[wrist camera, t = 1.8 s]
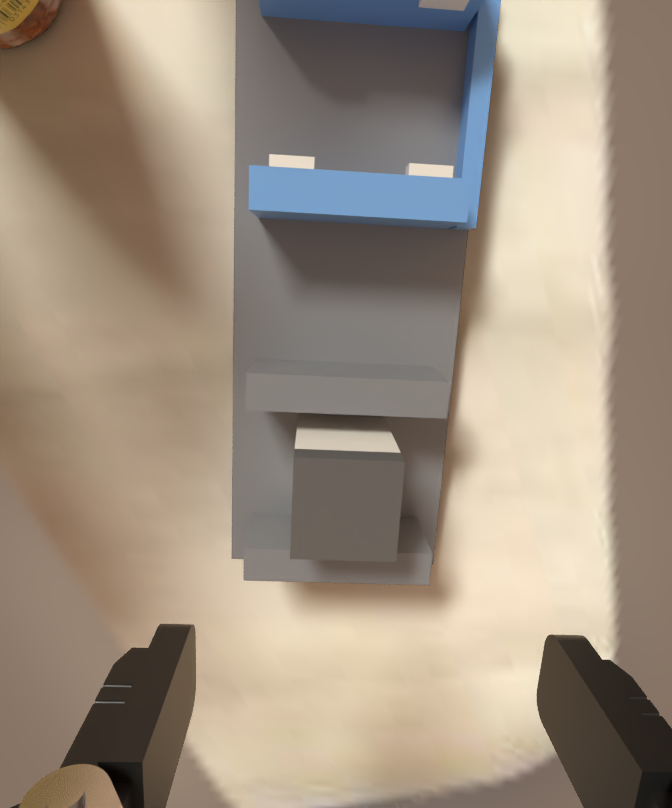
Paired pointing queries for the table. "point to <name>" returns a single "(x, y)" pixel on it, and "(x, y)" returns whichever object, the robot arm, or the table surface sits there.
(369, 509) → the grey block
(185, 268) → the table surface
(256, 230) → the grey fixture board
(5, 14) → the sauce bottle
